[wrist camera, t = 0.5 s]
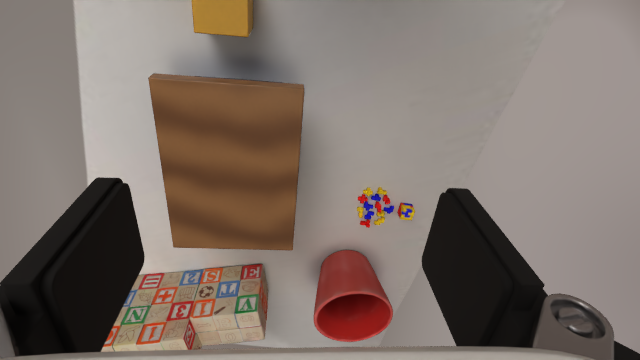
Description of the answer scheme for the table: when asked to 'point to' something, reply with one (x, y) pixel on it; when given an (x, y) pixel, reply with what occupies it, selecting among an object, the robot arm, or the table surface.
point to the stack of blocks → (192, 310)
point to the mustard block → (223, 17)
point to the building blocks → (404, 210)
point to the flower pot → (350, 299)
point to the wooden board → (229, 159)
